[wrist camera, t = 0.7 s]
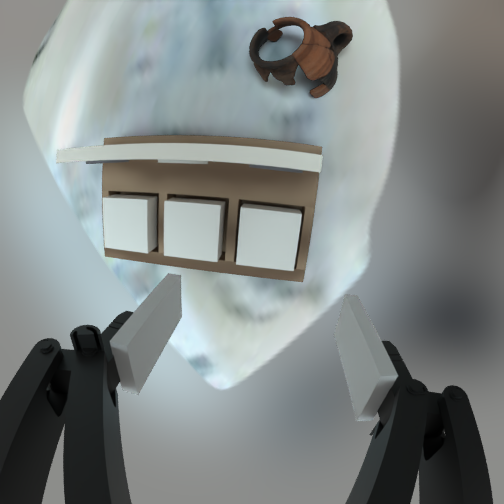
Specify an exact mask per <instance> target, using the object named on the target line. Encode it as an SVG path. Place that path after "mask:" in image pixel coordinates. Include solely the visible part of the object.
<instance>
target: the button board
mask: <svg viewBox="0 0 504 504" xmlns="http://www.w3.org/2000/svg"><path fill="white" fill-rule="evenodd" d="M139 143H197V144H221V145H237V146H250V147H261V148H271V149H280V150H289V151H297V152H304V153H311V154H318V155H321V154H322V147H320V146H314V145H307V144H300V143H292V142H284V141H275V140H265V139H254V138H241V137H224V136H198V135H155V136H130V137H114V138H104V145H117V144H139ZM249 165H250V164H243V163H230V162H216V161H208V164H189V163H159V162H158V159H129V162H118V163H103V170H102V214H103V197H107V196H110V195H114V194H118V195H141V196H157V247H155V248H154V249H153V250H152V251H150V252H149V253H141V252H133V251H126V250H119V249H111V248H105V243H104V250H105V256H106V257H113V258H119V259H126V260H133V261H139V262H146V263H153V264H160V265H167V266H175V267H182V268H189V269H197V270H204V271H212V272H220V273H228V274H236V275H244V276H253V277H261V278H270V279H279V280H288V281H297V282H303V279H304V274H305V268H306V262H307V256H308V250H309V244H310V237H311V231H312V224H313V217H314V210H315V203H316V195H317V188H318V180H319V172H313V171H306V170H303V173H296V172H287V171H278V170H269V169H260V168H252V167H249ZM173 197H174V198H189V199H201V200H213V201H225V215H224V229H223V244H222V255H221V256H220V258H219V260H218V262H211V261H203V260H195V259H187V258H179V257H171V256H164V201H165V200H168V199H171V198H173ZM244 203H245V204H255V205H264V206H273V207H282V208H290V209H298V210H300V211H301V213H302V217H301V225H300V232H299V239H298V246H297V252H296V259H295V265H294V271H287V270H279V269H270V268H261V267H253V266H244V265H236V259H237V246H238V234H239V222H240V210H241V206H242V205H243V204H244ZM103 236H104V226H103Z"/></svg>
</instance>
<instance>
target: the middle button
mask: <svg viewBox="0 0 504 504" xmlns="http://www.w3.org/2000/svg"><path fill="white" fill-rule="evenodd" d="M224 215H225V201H213V200H201V199H189V198H174V197H173V198H171V199H168V200H165V201H164V256H171V257H179V258H187V259H195V260H203V261H211V262H218V260H219V258H220V256H221V255H222V244H223V229H224Z"/></svg>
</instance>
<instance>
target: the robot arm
mask: <svg viewBox="0 0 504 504" xmlns="http://www.w3.org/2000/svg"><path fill="white" fill-rule="evenodd" d="M181 317H182V307H181V275H175V274H169V273H168V274H167V275H166V277H165V278H164V279H163V280H162V281H161V282H160V283H159V284H158V285H157V287H156V288H155V289H154V290H153V291H152V292H151V293H150V294H149V296H148V297H147V298H146V299H145V300H144V301H143V302H142V304H141V305H140V306H139V307H138V308H137V310H136V311H135V312H130V311H125V312H123V313H121V314H120V315H118V316H117V317H116V318H115V319H114V320H113V322H111V324H110V325H109V327H107V328H106V329H105V330H104V331H103V332H102V334H101V333H100V330H99V329H98V328H97V327H95V326H93V325H83V326H79V327H77V328H75V329H74V330H73V331H72V332H71V334H70V337H71V340H72V343H73V347H74V350H67V349H61V346H60V344H59V342H58V341H57V340H55V339H52V338H47V339H43V340H41V341H39V342H38V343H37V344H36V345H35V346H34V348H33V349H32V350H31V352H30V353H29V355H28V356H27V358H26V359H25V361H24V362H23V364H22V365H21V367H20V369H19V370H18V371H17V373H16V375H15V376H14V378H13V380H12V381H11V383H10V384H9V386H8V388H7V390H6V391H5V393H4V395H3V396H2V398H1V400H0V504H42V499H43V494H44V490H45V486H46V482H47V478H48V475H49V471H50V467H51V464H52V461H53V457H54V454H55V451H56V448H57V444H58V441H59V438H60V436H61V433H62V430H63V427H64V424H65V430H64V453H63V469H64V470H63V471H64V494H65V504H131V499H130V494H129V489H128V484H127V478H126V472H125V467H124V459H123V453H122V444H121V434H120V423H119V410H118V394H117V390H116V387H117V385H118V384H119V382H120V383H121V386H122V390H123V391H127V392H130V393H133V394H137V395H138V394H139V393H140V391H141V389H142V387H143V385H144V383H145V382H146V380H147V377H148V376H149V374H150V373H151V371H152V369H153V367H154V365H155V364H156V362H157V360H158V358H159V356H160V355H161V353H162V351H163V349H164V347H165V345H166V344H167V342H168V340H169V339H170V337H171V335H172V333H173V331H174V330H175V328H176V326H177V324H178V323H179V321H180V319H181ZM334 337H335V341H336V344H337V348H338V351H339V355H340V358H341V362H342V366H343V370H344V373H345V377H346V381H347V385H348V389H349V393H350V397H351V401H352V405H353V409H354V413H355V418H356V421H369V420H373V418H374V417H375V415H376V414H377V412H378V414H379V417H380V420H379V421H378V423H377V424H376V426H375V427H374V429H373V430H372V432H371V433H370V435H372V434H373V433H374V434H373V437H372V440H371V443H370V446H369V448H368V451H367V454H366V457H365V460H364V462H363V465H362V467H361V470H360V472H359V475H358V477H357V479H356V482H355V484H354V487H353V489H352V491H351V493H350V495H349V498H348V500H347V502H346V504H410V502H411V499H412V495H413V491H414V487H415V483H416V479H417V474H418V469H419V491H420V504H493V498H492V491H491V485H490V478H489V473H488V468H487V463H486V458H485V454H484V450H483V445H482V442H481V438H480V434H479V431H478V427H477V424H476V421H475V417H474V414H473V411H472V408H471V405H470V402H469V399H468V396H467V394H466V393H465V391H463V390H462V389H461V388H460V387H458V386H453V385H452V386H448V387H446V388H445V389H444V391H443V392H442V394H441V393H434V392H429V391H428V389H427V388H426V386H425V385H424V384H423V383H422V382H420V381H418V380H416V379H412V377H411V375H410V373H409V371H408V369H407V367H406V365H405V363H404V362H403V361H402V360H403V359H402V358H401V356H400V354H399V352H398V350H397V348H396V347H395V346H394V345H393V344H392V343H391V342H390V341H381V339H380V338H379V335H378V333H377V331H376V330H375V327H374V326H373V324H372V322H371V320H370V318H369V316H368V314H367V312H366V310H365V309H364V307H363V305H362V303H361V302H360V299H359V297H358V296H356V295H346V294H345V296H344V300H343V304H342V308H341V311H340V315H339V319H338V322H337V326H336V329H335V333H334ZM444 432H445V433H444Z"/></svg>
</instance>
